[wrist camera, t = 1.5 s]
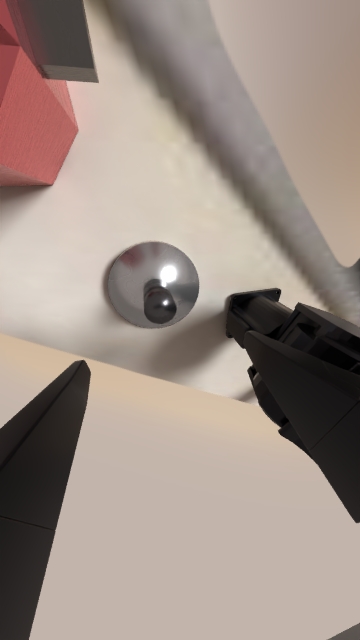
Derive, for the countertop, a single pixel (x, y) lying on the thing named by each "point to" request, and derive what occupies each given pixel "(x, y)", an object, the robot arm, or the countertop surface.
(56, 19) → the pot
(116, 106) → the countertop surface
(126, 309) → the lid
